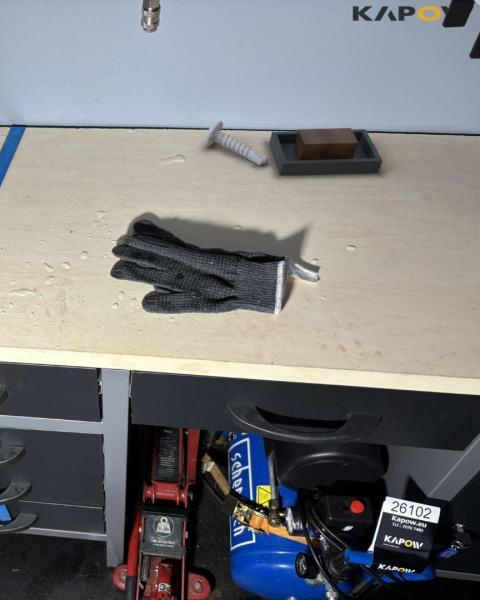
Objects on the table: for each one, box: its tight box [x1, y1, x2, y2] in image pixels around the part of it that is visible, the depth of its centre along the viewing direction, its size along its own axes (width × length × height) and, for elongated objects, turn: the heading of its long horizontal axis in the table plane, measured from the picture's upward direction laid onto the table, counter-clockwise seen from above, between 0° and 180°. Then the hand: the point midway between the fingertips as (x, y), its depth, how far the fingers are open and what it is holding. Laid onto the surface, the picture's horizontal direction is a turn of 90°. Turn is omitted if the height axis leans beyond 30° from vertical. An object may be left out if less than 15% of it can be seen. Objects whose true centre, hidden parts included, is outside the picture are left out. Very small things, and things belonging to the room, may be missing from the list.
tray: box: [269, 128, 383, 176], centre depth 106 cm, size 17×10×2 cm, turn 89°
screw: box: [204, 120, 266, 166], centre depth 108 cm, size 5×12×5 cm
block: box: [294, 127, 358, 160], centre depth 105 cm, size 9×4×4 cm, turn 89°
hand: (466, 41), depth 87 cm, fingers open, 9 cm apart
